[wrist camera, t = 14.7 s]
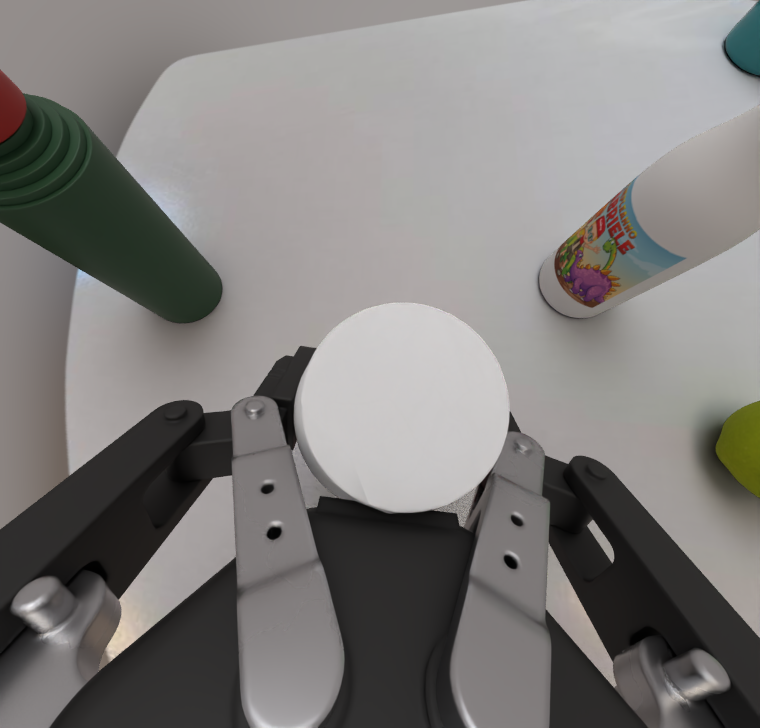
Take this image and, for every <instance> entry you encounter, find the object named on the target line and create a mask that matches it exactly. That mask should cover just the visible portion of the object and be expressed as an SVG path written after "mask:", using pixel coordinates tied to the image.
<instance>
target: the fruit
mask: <svg viewBox="0 0 760 728" xmlns="http://www.w3.org/2000/svg"><path fill="white" fill-rule="evenodd" d="M716 453H717V456H718V458H719V459H720V461H721V462H722V463H723V464H724V465H725V467H726V468H727V469H728V470H729V471H730V472H731V474H732V475H733V476H734V478H735V479H736V480H737V481H738V482H739V483H740V484H742V485H743V486H744V487H745V488H746V489H748V490H749V491H750V492H751V493H753V494H754V495H756V496H757V497H759V498H760V401H757V402H754V403H752V404H749V405H747V406H745V407H743V408H741V409H739V410H737V411H736V412H734V413H733V414H732V415H731V416H730V417H729V418H728V419H727V420H726V421H725V423H724V425H723V427H722V431H721V435H720V437H719V440H718V442H717V444H716Z"/></svg>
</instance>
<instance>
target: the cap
mask: <svg viewBox="0 0 760 728" xmlns="http://www.w3.org/2000/svg"><path fill="white" fill-rule="evenodd" d="M26 109H27V106H26V100H25V97H24V95H23V94H22V92H21V90H20V89H19V88H18V87H17V86H16V85H15V84H14V83H13V82H12V81H11V80H10V79H9V78H8V77H7V76H6V75H5V74H4V73H3V72H2V71H1V70H0V143H1V142H3V141H5V140H6V139H7V138H9V137H10V136H11V135H12V134H13V133H15V132H16V130H17V129H18V128H19V127H20V125H21V124H22V122H23V120H24V118H25V115H26Z"/></svg>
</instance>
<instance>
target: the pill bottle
mask: <svg viewBox="0 0 760 728" xmlns="http://www.w3.org/2000/svg"><path fill="white" fill-rule="evenodd" d="M509 414H510V408H509V396H508V390H507V385H506V382H505V378H504V375H503V372H502V370H501V367H500V365H499V363H498V361H497V360H496V358H495V356H494V354H493V352H492V351H491V349H490V348H489V347H488V345H487V344H486V343H485V341H484V340H483V339H482V338H481V337H480V336H479V335H478V334H477V333H476V332H475V331H474V330H473V329H472V328H471V327H470V326H468V325H467V324H466V323H464V322H463V321H461V320H460V319H458V318H457V317H455V316H454V315H451V314H449V313H447V312H445V311H443V310H440V309H438V308H435V307H431V306H427V305H423V304H417V303H405V302H398V303H387V304H381V305H377V306H374V307H370V308H367V309H365V310H362V311H360V312H358V313H356V314H354V315H352V316H350V317H349V318H347V319H346V320H344V321H343V322H341V323H340V324H339V325H337V326H336V327H335V328H334V329H333V330H332V331H331V332H330V333H329V334H328V335H327V336H326V337H325V338H324V339H323V341H322V342H321V343H320V345H319V346H318V347H317V349H316V351H315V352H314V354H313V356H312V358H311V360H310V362H309V364H308V366H307V367H306V369H305V371H304V373H303V375H302V377H301V380H300V383H299V385H298V388H297V392H296V396H295V403H294V428H295V434H296V439H297V442H298V446H299V449H300V451H301V454H302V456H303V458H304V460H305V462H306V464H307V465H308V467H309V469H310V470H311V472H312V473H313V474H314V476H315V477H316V478H317V479H318V480H319V481H320V482H321V484H322V485H323V486H325V487H326V488H327V489H328V490H329V491H330V492H331V493H333V494H334V495H336V496H337V497H339V498H340V499H346V500H354V501H357V502H359V503H362V504H364V505H367V506H370V507H372V508H375V509H377V510H380V511H383V512H385V513H389V514H392V513H416V512H425V511H429V510H434V509H438V508H441V507H443V506H446V505H448V504H450V503H453V502H455V501H457V500H458V499H460V498H462V497H463V496H465V495H466V494H468V493H469V492H470V491H471V490H473V489H474V488H475V487H476V486H477V485H478V484H479V483H480V482H482V481H483V480H484V478H485V477H486V476H487V474H488V473H489V472H490V470H491V469H492V468H493V466H494V464H495V463H496V461H497V459H498V457H499V455H500V453H501V451H502V448H503V445H504V442H505V439H506V436H507V431H508V425H509Z"/></svg>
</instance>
